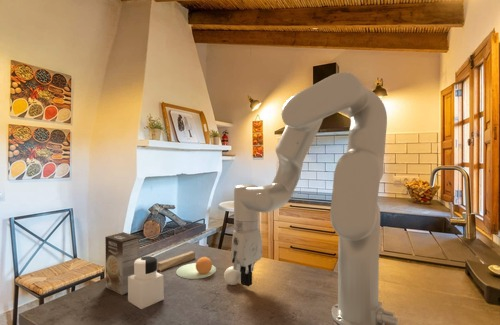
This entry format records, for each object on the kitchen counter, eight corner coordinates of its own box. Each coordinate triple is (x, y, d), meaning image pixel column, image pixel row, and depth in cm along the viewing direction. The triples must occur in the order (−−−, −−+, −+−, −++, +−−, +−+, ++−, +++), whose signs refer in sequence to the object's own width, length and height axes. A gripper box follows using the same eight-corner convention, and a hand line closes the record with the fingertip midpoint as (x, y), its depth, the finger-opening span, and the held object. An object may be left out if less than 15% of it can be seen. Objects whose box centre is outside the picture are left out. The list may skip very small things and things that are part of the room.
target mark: (224, 269, 103) (224, 268, 103) (194, 282, 92) (194, 282, 92) (198, 260, 112) (198, 260, 112) (168, 271, 101) (168, 271, 101)
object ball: (206, 252, 103) (203, 266, 104) (194, 256, 99) (191, 270, 100) (216, 260, 100) (213, 274, 101) (204, 264, 95) (201, 279, 96)
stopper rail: (195, 258, 115) (195, 251, 115) (160, 270, 102) (160, 263, 102) (191, 257, 116) (191, 250, 116) (157, 269, 103) (157, 262, 103)
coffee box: (104, 287, 89) (103, 236, 89) (123, 280, 94) (123, 231, 94) (121, 295, 84) (121, 241, 84) (140, 287, 89) (140, 236, 89)
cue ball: (234, 260, 94) (230, 274, 96) (222, 265, 90) (218, 280, 91) (247, 270, 91) (242, 284, 92) (235, 276, 87) (230, 291, 88)
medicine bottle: (150, 292, 86) (150, 252, 86) (164, 299, 81) (163, 257, 81) (127, 301, 80) (127, 259, 80) (141, 310, 76) (140, 265, 76)
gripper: (239, 232, 79) (239, 297, 80) (270, 222, 91) (270, 279, 91) (220, 228, 84) (220, 289, 84) (251, 219, 96) (251, 273, 96)
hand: (246, 284), depth 88 cm, fingers closed
